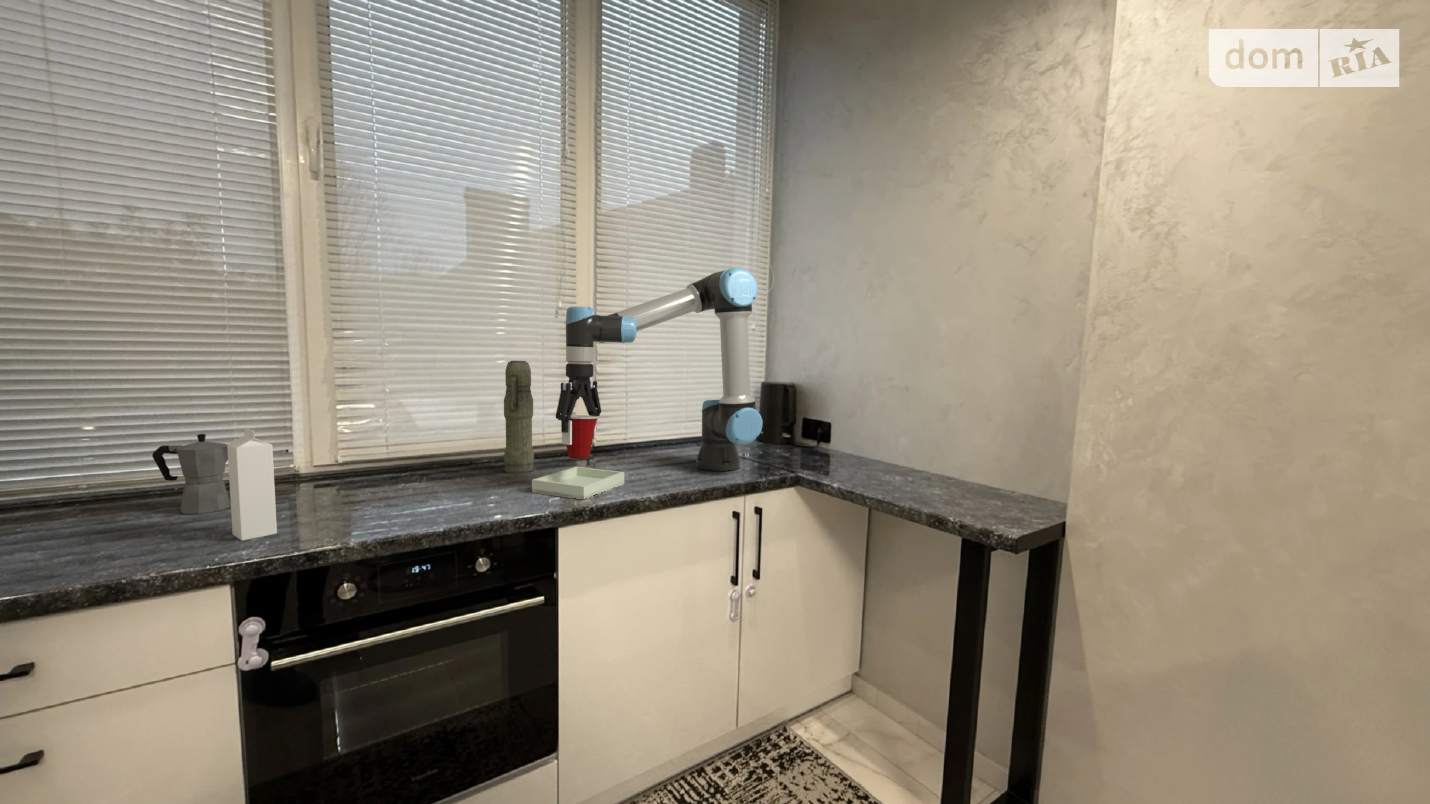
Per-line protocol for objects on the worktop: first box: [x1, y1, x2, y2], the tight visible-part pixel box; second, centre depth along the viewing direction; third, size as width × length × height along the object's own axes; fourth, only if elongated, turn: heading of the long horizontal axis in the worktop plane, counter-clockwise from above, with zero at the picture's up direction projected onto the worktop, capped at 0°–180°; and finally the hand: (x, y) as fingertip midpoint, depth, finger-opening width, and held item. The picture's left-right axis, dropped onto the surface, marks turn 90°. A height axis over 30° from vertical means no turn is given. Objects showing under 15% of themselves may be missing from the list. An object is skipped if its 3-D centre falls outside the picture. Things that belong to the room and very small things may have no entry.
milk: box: [227, 427, 278, 542], centre depth 119 cm, size 6×6×22 cm
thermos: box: [503, 360, 535, 474], centre depth 184 cm, size 9×12×35 cm
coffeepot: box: [152, 433, 231, 516], centre depth 135 cm, size 15×9×18 cm, turn 116°
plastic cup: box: [565, 414, 600, 460], centre depth 163 cm, size 11×11×12 cm
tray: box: [531, 466, 625, 500], centre depth 164 cm, size 17×20×4 cm
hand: (579, 441), depth 163 cm, fingers closed on plastic cup, 11 cm apart
